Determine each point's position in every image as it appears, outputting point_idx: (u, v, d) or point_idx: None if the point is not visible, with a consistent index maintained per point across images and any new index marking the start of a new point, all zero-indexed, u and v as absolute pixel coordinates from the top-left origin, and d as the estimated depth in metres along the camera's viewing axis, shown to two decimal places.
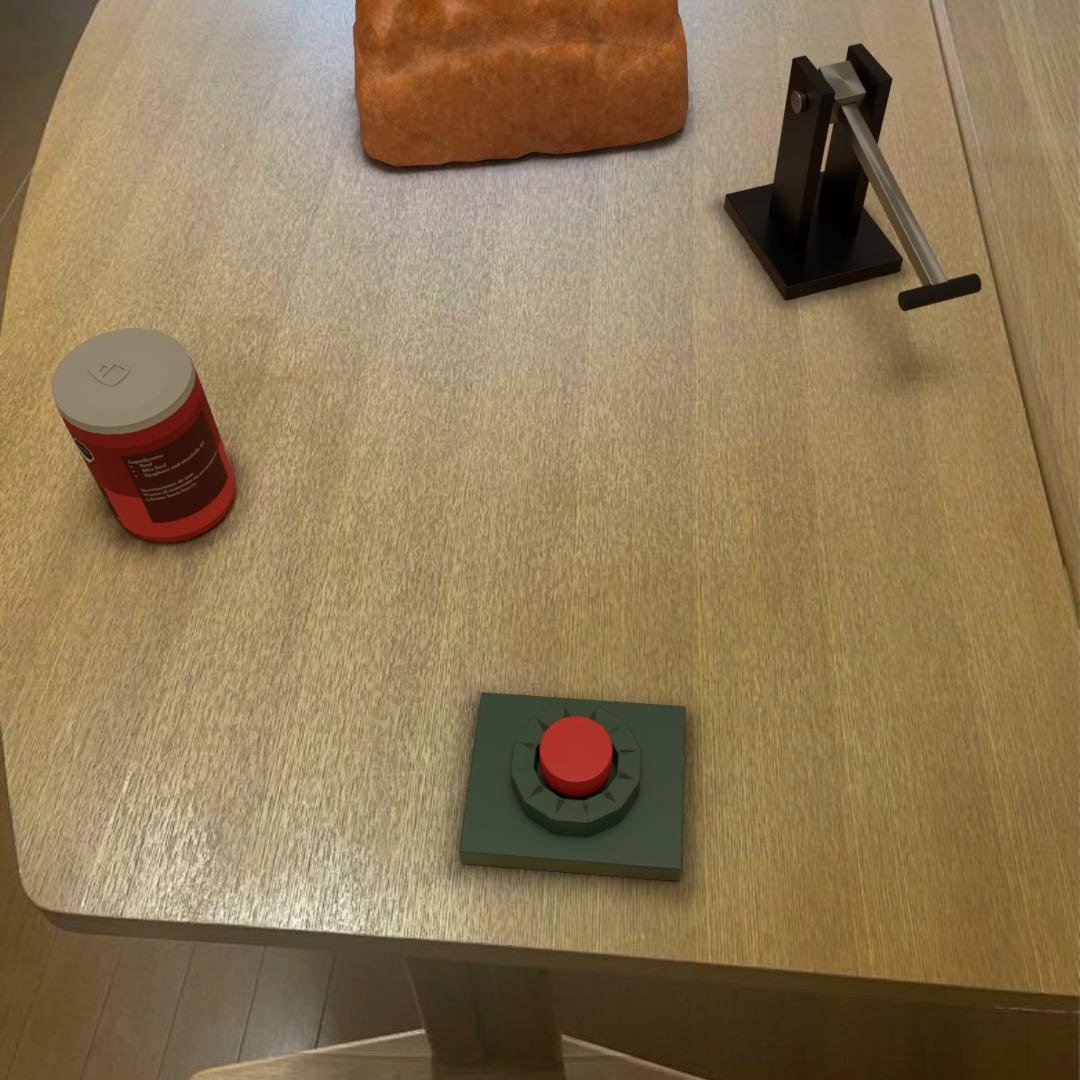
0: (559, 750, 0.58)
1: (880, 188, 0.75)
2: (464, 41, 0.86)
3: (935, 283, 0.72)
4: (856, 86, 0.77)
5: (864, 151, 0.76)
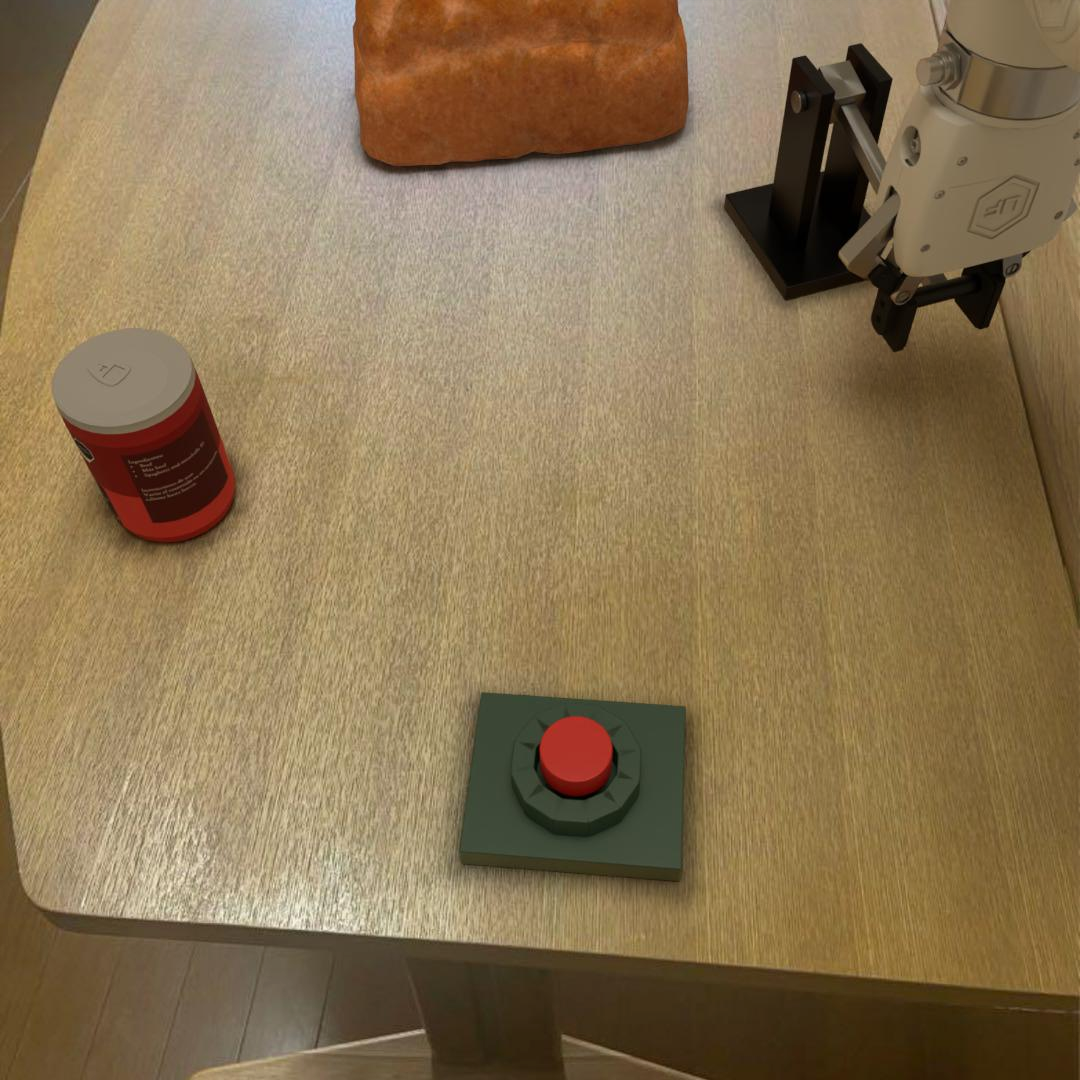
0: (559, 750, 0.58)
1: None
2: (464, 41, 0.86)
3: (935, 283, 0.72)
4: (856, 86, 0.77)
5: (864, 151, 0.76)
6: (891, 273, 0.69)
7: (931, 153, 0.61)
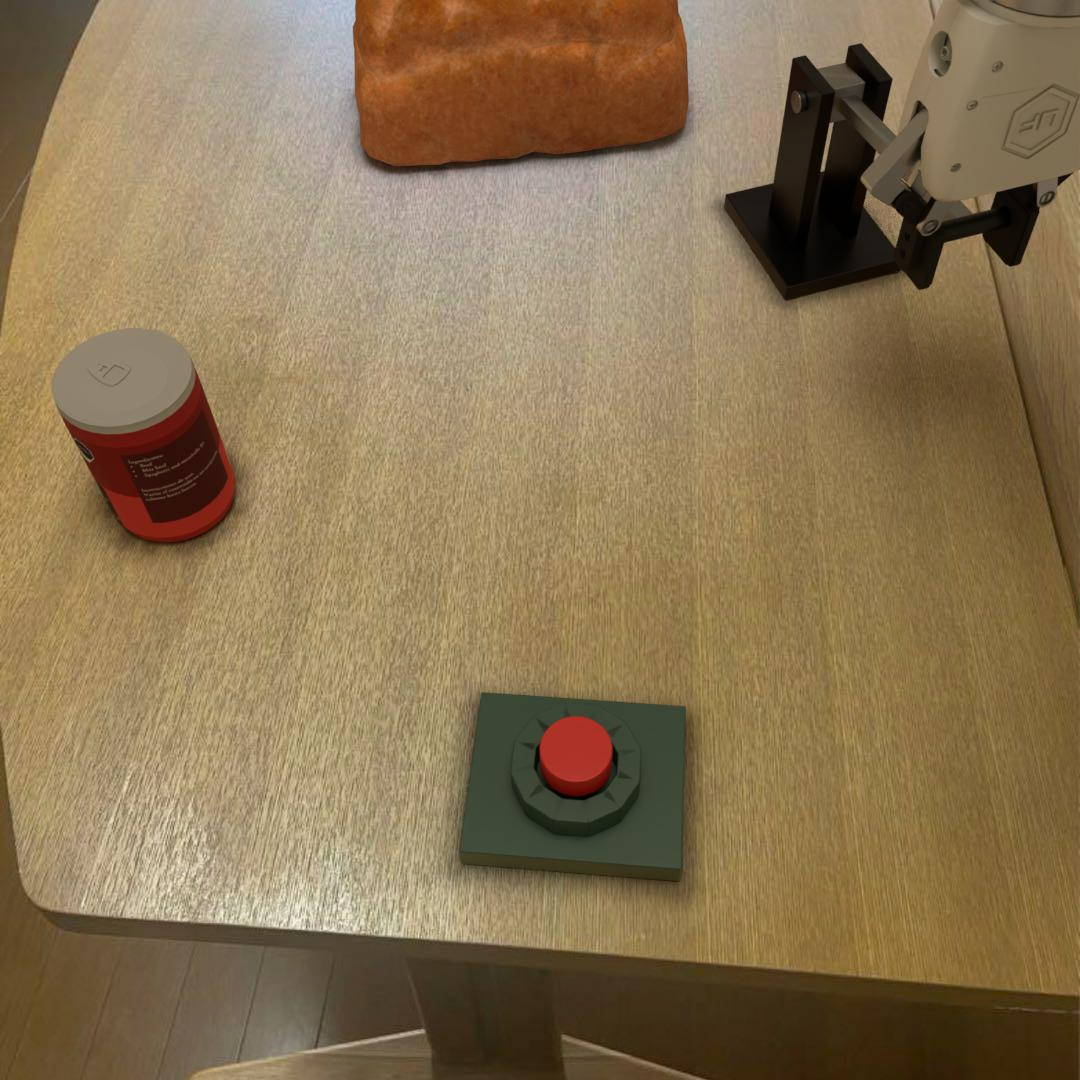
0: (559, 750, 0.58)
1: None
2: (464, 41, 0.86)
3: (960, 216, 0.68)
4: (854, 79, 0.77)
5: (870, 127, 0.74)
6: (917, 200, 0.64)
7: (963, 59, 0.56)
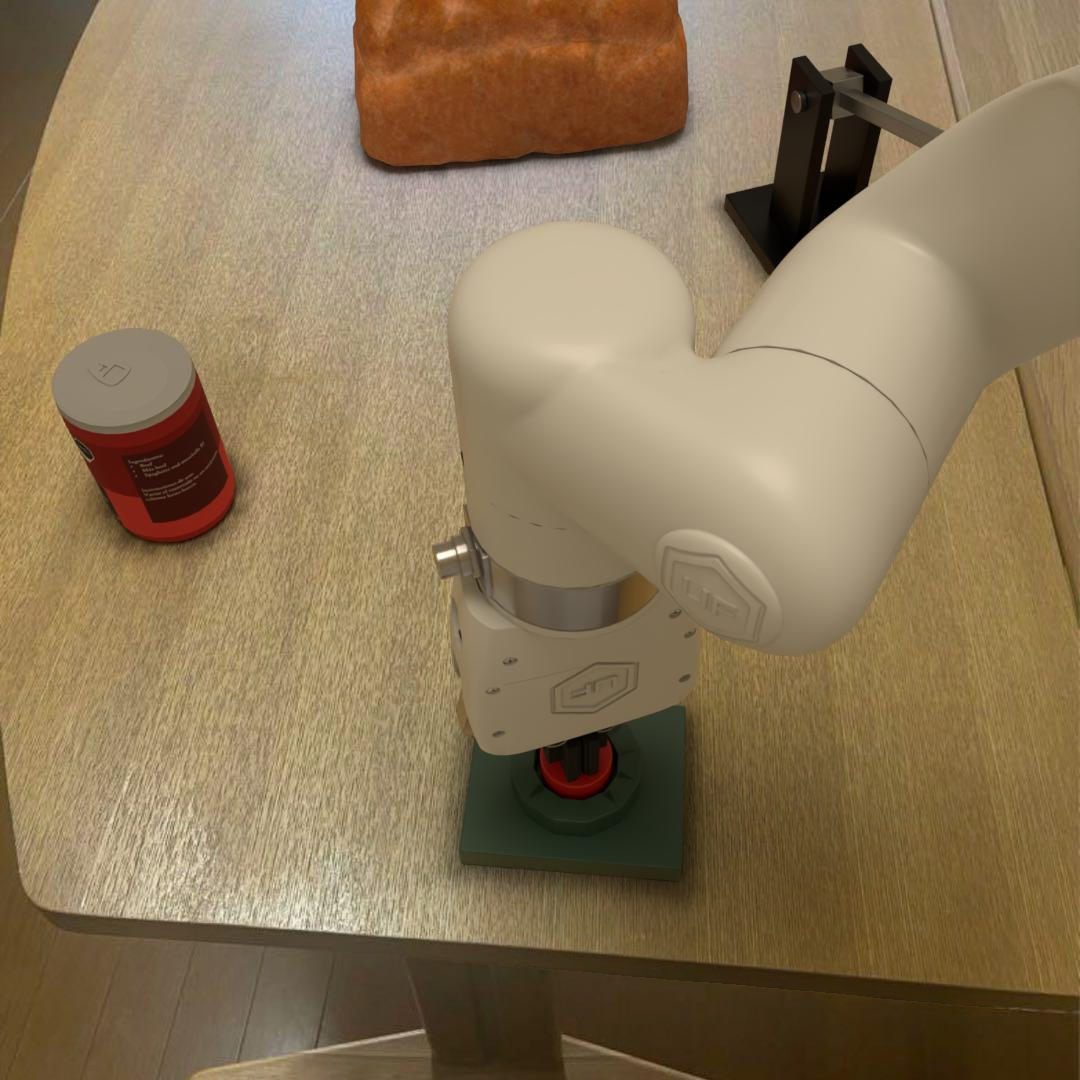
0: None
1: (893, 121, 0.71)
2: (464, 41, 0.86)
3: None
4: (852, 74, 0.77)
5: (871, 106, 0.73)
6: None
7: (470, 648, 0.45)
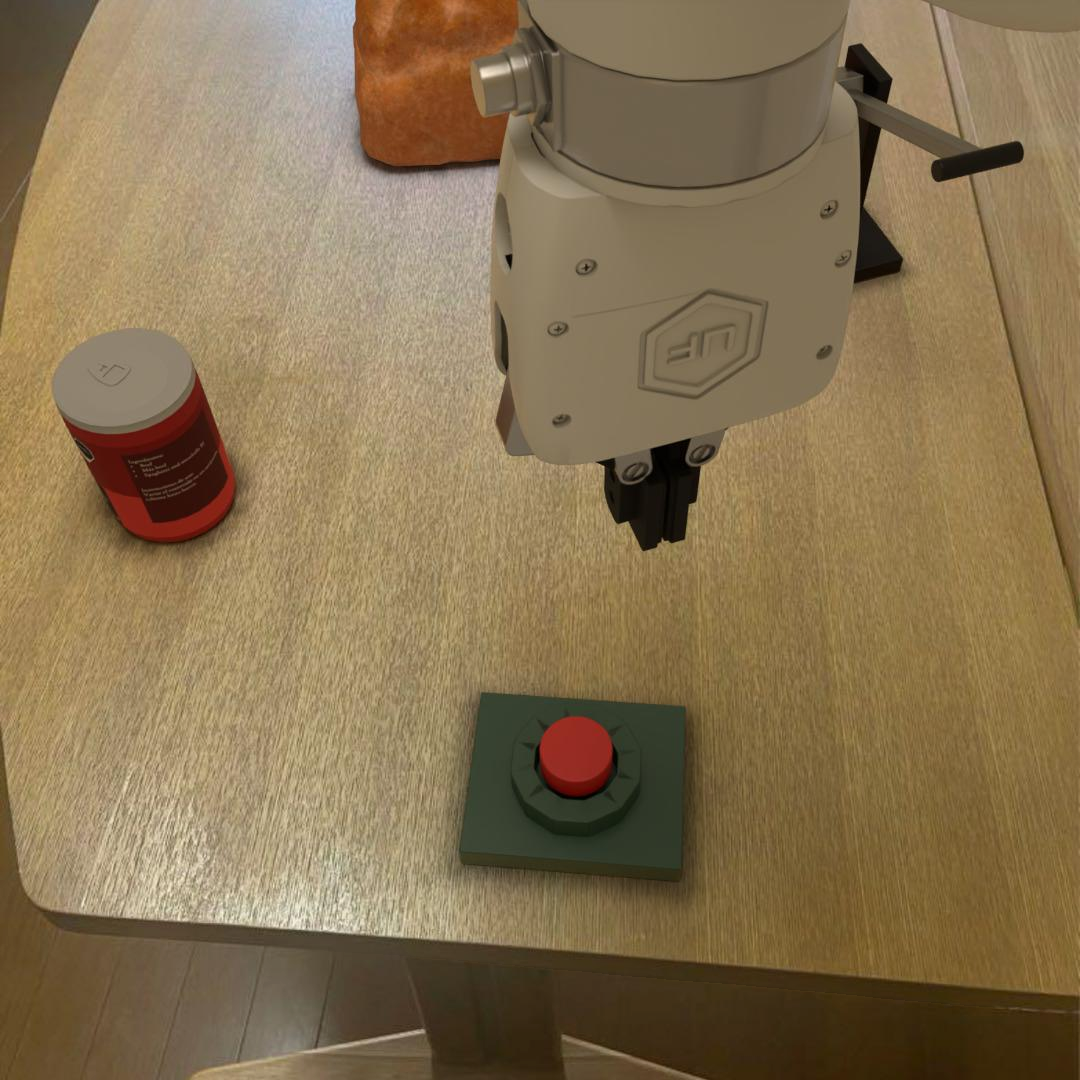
0: (559, 750, 0.58)
1: (893, 121, 0.71)
2: (464, 41, 0.86)
3: (969, 151, 0.65)
4: (852, 74, 0.77)
5: (871, 106, 0.73)
6: None
7: (525, 251, 0.30)
